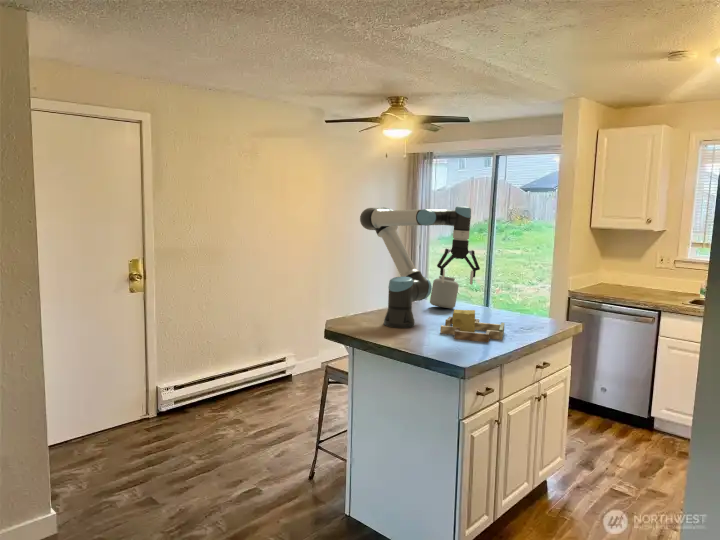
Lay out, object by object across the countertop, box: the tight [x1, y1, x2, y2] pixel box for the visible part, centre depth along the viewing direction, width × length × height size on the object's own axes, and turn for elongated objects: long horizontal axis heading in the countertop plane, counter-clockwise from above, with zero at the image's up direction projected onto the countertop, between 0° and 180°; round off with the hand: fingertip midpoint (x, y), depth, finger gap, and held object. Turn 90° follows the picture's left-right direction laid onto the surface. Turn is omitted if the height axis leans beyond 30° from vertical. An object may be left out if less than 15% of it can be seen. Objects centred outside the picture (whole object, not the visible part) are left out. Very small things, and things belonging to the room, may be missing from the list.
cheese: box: [451, 308, 476, 333], centre depth 254 cm, size 10×11×10 cm
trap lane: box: [440, 316, 505, 343], centre depth 253 cm, size 28×31×4 cm
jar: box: [429, 269, 460, 309], centre depth 310 cm, size 19×15×25 cm
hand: (456, 283), depth 257 cm, fingers open, 13 cm apart
